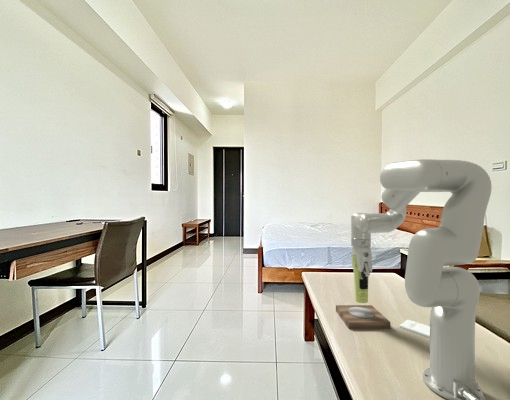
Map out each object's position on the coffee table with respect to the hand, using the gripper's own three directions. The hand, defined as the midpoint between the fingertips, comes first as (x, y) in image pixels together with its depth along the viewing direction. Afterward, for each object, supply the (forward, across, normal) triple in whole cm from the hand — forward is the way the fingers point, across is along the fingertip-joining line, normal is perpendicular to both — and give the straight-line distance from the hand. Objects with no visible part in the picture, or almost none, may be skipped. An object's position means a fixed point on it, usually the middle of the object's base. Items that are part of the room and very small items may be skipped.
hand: (360, 286), depth 108 cm
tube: (+7, 0, 0) cm, 7 cm away
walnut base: (+14, 0, 0) cm, 14 cm away
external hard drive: (+14, -9, -19) cm, 26 cm away
